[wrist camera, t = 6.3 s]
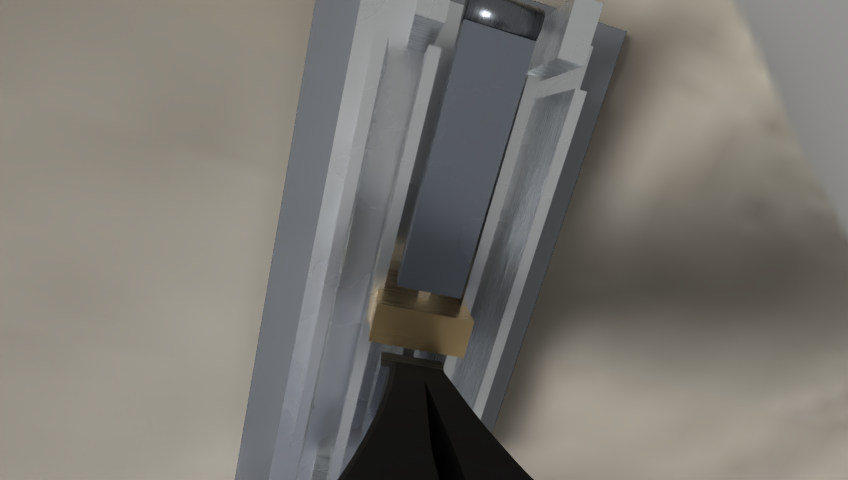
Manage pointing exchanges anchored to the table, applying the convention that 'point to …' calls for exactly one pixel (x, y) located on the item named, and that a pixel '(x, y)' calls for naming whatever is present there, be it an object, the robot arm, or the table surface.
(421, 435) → the robot arm
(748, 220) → the table surface
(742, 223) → the table surface
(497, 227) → the grey slide rail
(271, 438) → the slate board
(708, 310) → the table surface
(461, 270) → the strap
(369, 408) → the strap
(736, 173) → the table surface
